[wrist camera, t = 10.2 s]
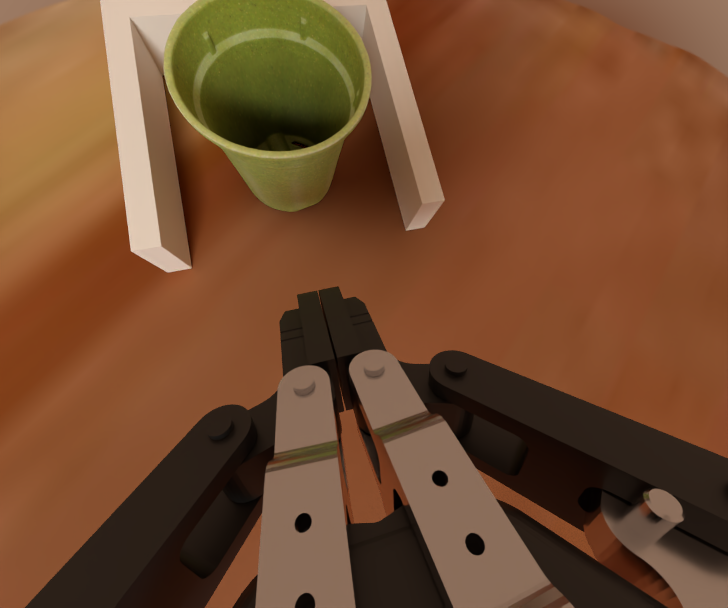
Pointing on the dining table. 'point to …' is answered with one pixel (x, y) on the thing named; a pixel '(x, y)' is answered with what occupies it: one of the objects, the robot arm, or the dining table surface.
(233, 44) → the plant pot
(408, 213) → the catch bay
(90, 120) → the dining table surface
